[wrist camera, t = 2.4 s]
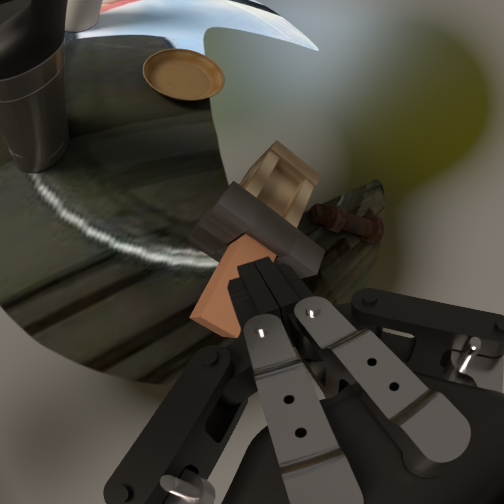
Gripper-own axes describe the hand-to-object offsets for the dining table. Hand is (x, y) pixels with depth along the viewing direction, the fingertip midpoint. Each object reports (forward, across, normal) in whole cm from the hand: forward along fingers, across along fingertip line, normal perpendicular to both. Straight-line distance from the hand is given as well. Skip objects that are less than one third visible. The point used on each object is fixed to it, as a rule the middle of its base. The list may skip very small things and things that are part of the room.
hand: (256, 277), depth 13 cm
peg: (+15, 0, -9) cm, 18 cm away
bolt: (+30, +21, -15) cm, 40 cm away
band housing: (+26, +5, -8) cm, 28 cm away
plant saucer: (+41, +1, +16) cm, 44 cm away
